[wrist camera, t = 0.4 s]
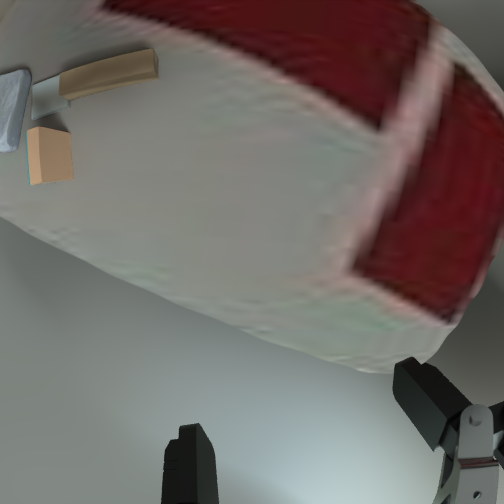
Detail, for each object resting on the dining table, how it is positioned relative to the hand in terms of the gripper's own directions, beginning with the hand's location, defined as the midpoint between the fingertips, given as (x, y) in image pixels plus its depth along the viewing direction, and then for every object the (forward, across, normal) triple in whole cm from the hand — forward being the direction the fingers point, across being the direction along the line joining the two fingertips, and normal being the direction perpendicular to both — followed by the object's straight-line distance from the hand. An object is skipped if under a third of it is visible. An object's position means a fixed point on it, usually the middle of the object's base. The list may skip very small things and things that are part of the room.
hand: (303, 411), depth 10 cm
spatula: (+28, +13, -25) cm, 39 cm away
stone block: (+28, +29, -28) cm, 49 cm away
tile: (+27, +19, -16) cm, 37 cm away
